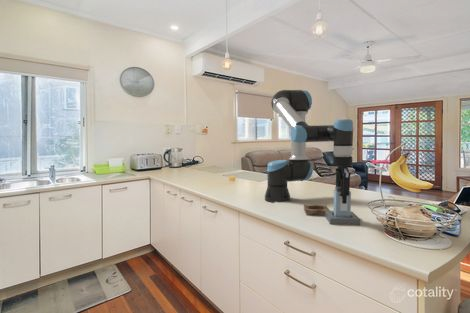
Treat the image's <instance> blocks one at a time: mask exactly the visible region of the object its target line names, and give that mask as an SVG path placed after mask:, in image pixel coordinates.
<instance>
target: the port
mask: <svg viewBox="0 0 470 313" xmlns="http://www.w3.org/2000/svg"><path fill="white" fill-rule="evenodd" d="M333 215H334V210H333V211H332V210H330V211H325V216H324V217H325V219H326V220H327V221H328V224H329V225H343V226H346V225H347V226H361V218H359V216H358V215H356V214H355V213H354V211H351V217H334V216H333Z"/></svg>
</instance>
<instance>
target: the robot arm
mask: <svg viewBox="0 0 470 313" xmlns="http://www.w3.org/2000/svg"><path fill="white" fill-rule="evenodd" d="M312 98H313V97H312V95H311V93H310V92H309V91H308V90H304V89H303V90H302V89H282V90H278V91H277V92H276V93H274V95H272V98H271V100H270V101H271V102H270V105H271V108H272V110H273V112H275V113H277V114H278V115H279V116H280V118H282V120H283V121H284V122H285V124H286V126H288V128H289V129H290V131H289V132H290V133H289V134H290V152H291V154H290V157H289V158H288V160H287V159H279V160H278V159H277V160H272V161H270V162H268V163H267V167H266V168H267V169H266V171H267V172H266V175H267V186H266V191H265V194H264V201H266V202H268V203H283V202H290V201H291V194H290V191H289V187H288V182H289V183H290V182H303V181H308V180H310V179H311V177H312V175H313V173H314V167H313V163H312V162H311V161H310V160H309V157H308V156H307V143H321V142H322V143H323V142H333V145H332V146H333V153H332V154H333V155H334V156H333V160H332V161H333V162H332V164H333V165H335V166H337V168H335V187H341V194H339V196H340V211H347V196H349V191H350V188H351V184H350V183H351V172H350V170H349V167H348V166H352V165H353V151H354V149H355V148H354V147H353V146H354V145H353V144H354V143H353V142H354V121H353V119H335V120H334V121H333V124H329V125H328V124H327V125H326V124H325V125H321V124H320V125H309V124H308V123H307V121H306V115H307V114H308V113H309V110H311V108H312V105H313V99H312Z"/></svg>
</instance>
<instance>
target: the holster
mask: <svg viewBox="0 0 470 313" xmlns="http://www.w3.org/2000/svg"><path fill="white" fill-rule="evenodd" d="M303 211H304V213H305V215H306V216H316V217H317V216H318V217H319V216H322V217H323V216H324V217H325V211H331V210H330V209H329V208H328V206H327V205H326V204H322V205H321V204H304V205H303Z"/></svg>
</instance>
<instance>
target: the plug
mask: <svg viewBox="0 0 470 313" xmlns="http://www.w3.org/2000/svg"><path fill="white" fill-rule="evenodd" d="M339 194H341V187H336V186H335V188H334V190H333V211H334V215H333V216H334V217H351V212H352V210H351V208H352V203H351V202H352V192H351V191H350V190H349V196H347V211H340V196H339Z"/></svg>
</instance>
